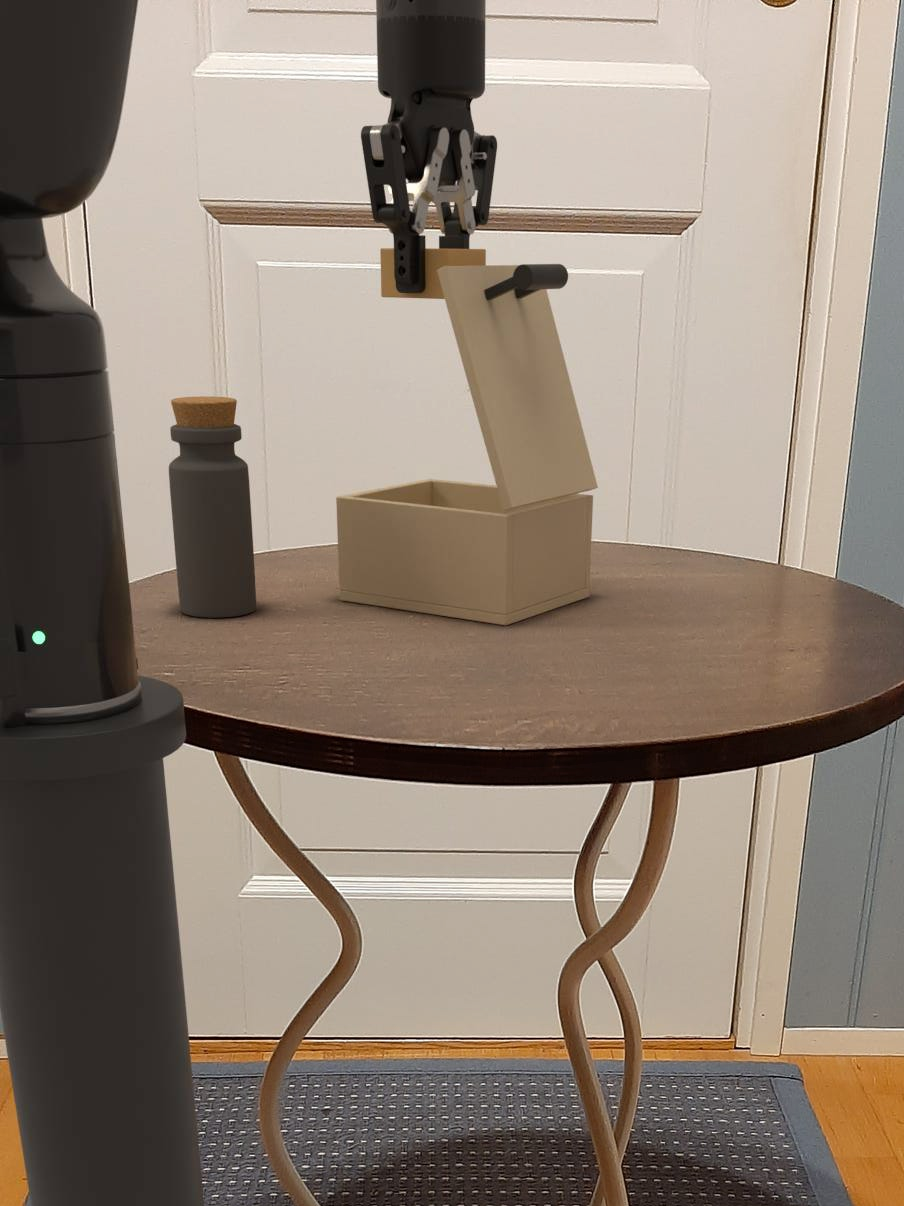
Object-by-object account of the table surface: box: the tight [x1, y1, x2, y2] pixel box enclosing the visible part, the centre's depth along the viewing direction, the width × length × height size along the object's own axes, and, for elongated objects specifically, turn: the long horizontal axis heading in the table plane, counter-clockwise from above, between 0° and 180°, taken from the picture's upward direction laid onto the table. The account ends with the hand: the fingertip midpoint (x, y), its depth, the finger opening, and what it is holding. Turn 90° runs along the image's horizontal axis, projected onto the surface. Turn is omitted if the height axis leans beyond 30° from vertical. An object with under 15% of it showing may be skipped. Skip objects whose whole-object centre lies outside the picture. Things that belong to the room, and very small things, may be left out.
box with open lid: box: [335, 478, 594, 627], centre depth 119 cm, size 16×13×8 cm
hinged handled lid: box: [437, 263, 598, 511], centre depth 110 cm, size 16×13×5 cm
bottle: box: [168, 396, 257, 619], centre depth 113 cm, size 6×6×15 cm
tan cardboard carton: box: [379, 247, 487, 300], centre depth 111 cm, size 6×5×3 cm
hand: (432, 291), depth 112 cm, fingers closed on tan cardboard carton, 5 cm apart
